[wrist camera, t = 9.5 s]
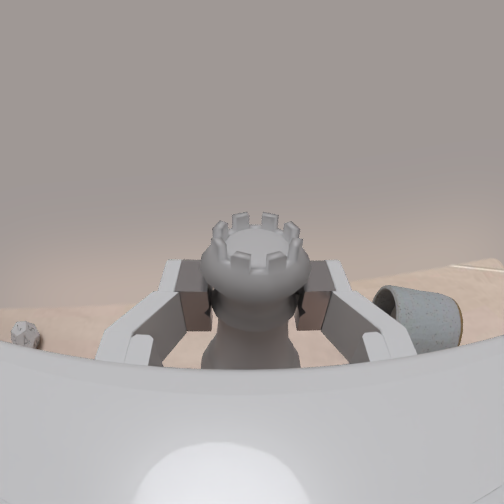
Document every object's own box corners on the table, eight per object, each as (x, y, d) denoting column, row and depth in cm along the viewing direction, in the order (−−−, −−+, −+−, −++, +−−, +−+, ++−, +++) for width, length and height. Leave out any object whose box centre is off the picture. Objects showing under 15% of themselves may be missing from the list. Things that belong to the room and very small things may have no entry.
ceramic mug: (440, 379, 24) (479, 329, 19) (369, 383, 24) (401, 329, 20) (417, 307, 32) (441, 256, 28) (356, 304, 33) (375, 248, 28)
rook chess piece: (209, 432, 11) (178, 302, 6) (196, 351, 14) (174, 204, 10) (311, 411, 12) (367, 274, 7) (282, 337, 15) (303, 194, 10)
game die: (37, 328, 27) (26, 310, 25) (48, 348, 25) (36, 329, 23) (16, 343, 25) (3, 326, 23) (25, 364, 23) (11, 346, 21)
